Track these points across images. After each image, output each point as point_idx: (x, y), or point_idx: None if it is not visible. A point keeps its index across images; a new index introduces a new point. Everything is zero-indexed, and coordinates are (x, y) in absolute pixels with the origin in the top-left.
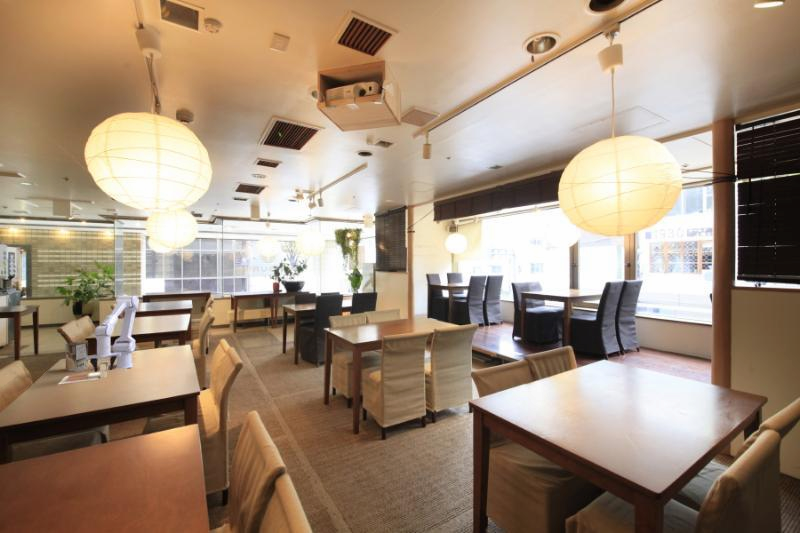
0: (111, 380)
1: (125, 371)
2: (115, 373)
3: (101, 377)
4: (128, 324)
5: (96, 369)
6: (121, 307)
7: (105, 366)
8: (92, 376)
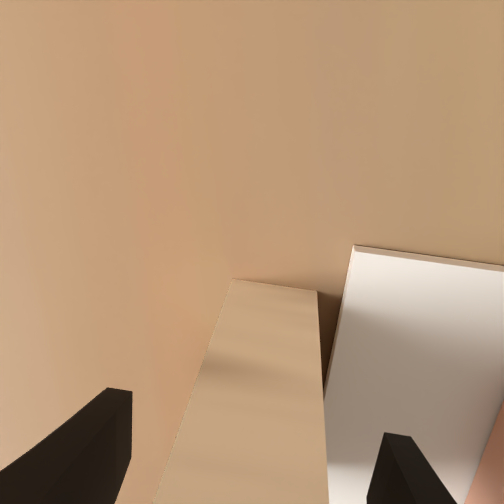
0: (125, 42)
1: (10, 455)
2: None
3: (296, 298)
4: None
5: (402, 474)
6: None
7: (183, 451)
8: None
